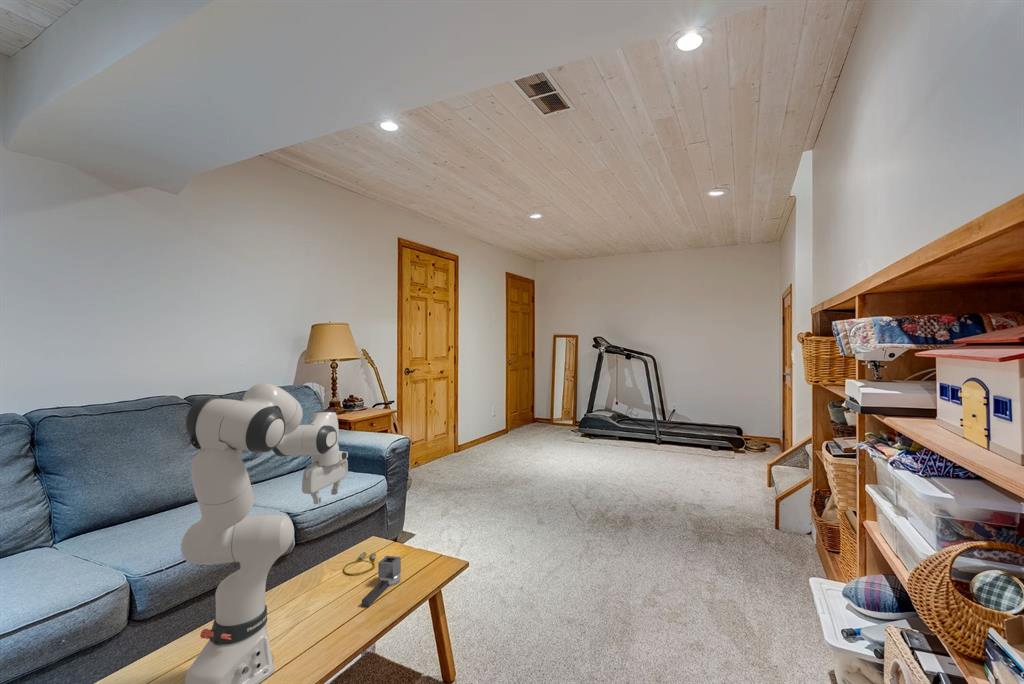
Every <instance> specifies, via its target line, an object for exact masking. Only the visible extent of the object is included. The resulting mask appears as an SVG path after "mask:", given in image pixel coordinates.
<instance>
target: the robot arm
mask: <svg viewBox="0 0 1024 684" xmlns="http://www.w3.org/2000/svg"><path fill="white" fill-rule="evenodd" d="M303 414H304V413H303V407H302V405H301V403H300V402H299V401H298V400H297V399H296V398H295V397H294V396H293V395H291V394H290V393H289V392H287V391H286V390H284V389H283V388H281V387H280V386H277V385H275V384H272V383H268V382H262V383H257V384H254V385H253V386H251V387H250V388H248V390H247V391H246V392H245V393H244V395H243V398H242V400H238V399H229V398H223V397H219V396H208V397H203V398H200V399H198V400H196V401H195V402H194V403H193V405H191V407H190V408H189V409H188V411H187V413H186V416H185V427H186V432H187V435H188V436H189V442H190V444H191V446H192V447H194V448H195V449H197V450H199V452H198V453H196V455H195V456H194V457H193V459H192V461H191V466H190V469H191V473H190V474H191V480H192V481H191V482H192V483H191V484H192V487H193V491H194V494H195V497H196V500H197V502H198V503H197V504H198V507H199V510H200V512H201V513H200V515H201V518H200V519H199V520H198V521H197V522H195V523H194V524H192V525H191V526H190V527H188V529H187V530H186V532H185V533H184V535H183V537H182V540H181V543H180V544H181V545H180V551H181V554H182V557H183V559H184V560H185V561H186V562H187V563H188V564H195V565H205V566H206V565H208V566H209V565H210V566H212V565H221V564H232V563H239V564H240V569H237V570H235V571H234V572H232V573H230V574H229V575H228V576H226V577H225V578H224V579H222V580H221V582H220V583H219V584H218V586H217V588H216V590H215V593H214V594H215V597H214V598H215V600H214V601H215V618H214V620H213V623H212V627H211V628H210V629H209V628H203V629H202V630H201V631H200V635H199V636H200V638H201V639H206V640H208V641H207V642H206V644H205V645H204V647H203V648H202V650H201V651H200V652H199V654H198V655H197V656H196V658H195V660H194V661H193V663H192V664H191V665H190V666H189V668H188V669H187V671H186V673H185V676H184V681H183V684H260V683H262V682H263V681H265V680H266V679H267V678H269V677H271V675H273V674H274V672H275V666H274V664H273V661H274V656H273V653H272V650H271V646H270V640H269V639H270V638H269V635H268V634H269V633H268V630H267V629H268V628H267V622H268V606H267V604H266V585H267V578H268V574H269V572H270V570H271V568H272V567H273V565H274V564H275V562H276V561H277V560H278V559H280V557H281V556H282V555H284V554H285V553H286V552H287V551H288V550H289V548H290V546H291V544H292V543H293V540H294V538H295V526H294V524H293V521H292V520H291V518H290V517H288V516H287V515H284V514H278V513H277V514H275V513H262V514H251V515H249V514H250V512H251V511H252V509H253V507H254V504H255V499H256V498H255V495H254V491H253V488H252V483H251V480H250V476H249V472H248V470H247V466H246V465H245V463H244V460H243V451H248V452H249V451H250V452H251V453H261V454H262V453H268V452H271V451H272V452H273V453H274V454H275V455H276V456H277V457H291V456H311V463H309V464H307V465H306V467H305V469H304V471H303V472H302V473H303V474H302V478H301V479H302V481H301V492H302V494H306V495H310V496H311V498H312V500H313V504H314V505H319V504H321V502H322V498H321V497H319V493H320V491H321V490H323V489H325V488H327V487H329V486H331V485H332V489H331V490H330V492H331V493H330V494H331V495H332V496H336V495H338V494H339V487H340V484H341V481H342V480H343V479H346V478H347V476H348V472H349V463H348V459H347V458H349V452H348V451H342V450H340V446H339V441H338V440H339V437H340V433H339V432H340V429H339V419H338V415H337V413H336V411H333V410H332V411H331V410H319V411H318V410H317V411H315V412H313V413H312V416H311V423H310V424H301V422H302V419H303V416H304V415H303Z"/></svg>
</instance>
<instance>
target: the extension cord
mask: <svg viewBox="0 0 1024 684" xmlns="http://www.w3.org/2000/svg"><path fill="white" fill-rule="evenodd" d="M366 556H367V552H365V551H363V552H362V553H360V554H359V556H358V559H357V560H354V561H351V562H349V563H347V564H345V565H344V567H343V571H342V572H343V573H344V574H345V575H347V576H350V575H351V576H354V577H356V576H360V575H364V574H366V573H369V572H371V571H373V570H374V569H375V568H376V565H375V560H376V556H377V554H376V553H373V552H372V553H371V554H370V556H369V558H370V560H371V561H369V560H365V559H364V558H365V557H366ZM358 562H367V563H370V564H372V567H371V568H369V569H366V570H364V571H361V572H354V573H350V572H349V573H348V572H346V571H345V570H346V568H347V566H349V565H352V564H354V563H358ZM355 575H356V576H355Z"/></svg>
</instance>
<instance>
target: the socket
mask: <svg viewBox="0 0 1024 684" xmlns="http://www.w3.org/2000/svg"><path fill="white" fill-rule="evenodd" d="M377 563H378V564H377V565H378V566H377V567H378V568H377V569H378V570H377V571H378V572H377V573H378V574H377V575H378V578H379V579H380V578H388V579H394V578H395V577H396V576H397V575H398V574H399V573H400V574H401V571H402V564H401V563H402V559H401V556H393V555H391V556H390V555H385V556H384V557H383V558H382V559H381V560H380V561H379V562H377Z"/></svg>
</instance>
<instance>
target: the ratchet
mask: <svg viewBox="0 0 1024 684" xmlns="http://www.w3.org/2000/svg"><path fill="white" fill-rule="evenodd" d="M400 582H401V572H400V573H399V574H398V575H397V576H396V577H395V578H394V579H388V578H380V577H379V583H377V584H376V586H374V588H372V589H371V590H370V592H368V593H367V594H366V595H365V596H364V597H363V598H362V599H361V606H362V607H364V608H370V606H371V605H372V604H374V602H376V600H377V599H378V598H379V597H380V596H382V594H383V593H384V592H385V591H386V590H387V589H388V588H389V587H393V586H397V585H398V584H399V583H400Z"/></svg>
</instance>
